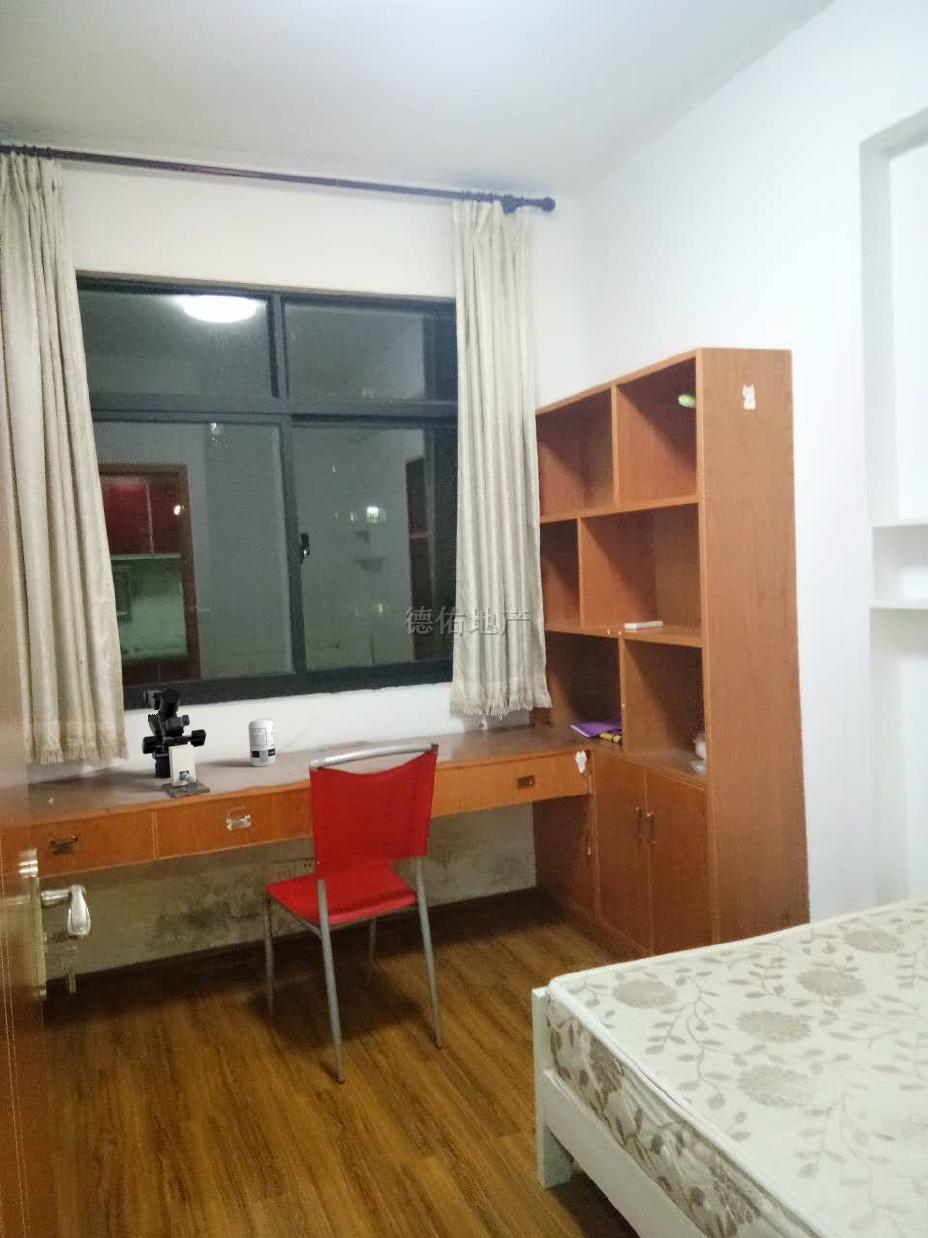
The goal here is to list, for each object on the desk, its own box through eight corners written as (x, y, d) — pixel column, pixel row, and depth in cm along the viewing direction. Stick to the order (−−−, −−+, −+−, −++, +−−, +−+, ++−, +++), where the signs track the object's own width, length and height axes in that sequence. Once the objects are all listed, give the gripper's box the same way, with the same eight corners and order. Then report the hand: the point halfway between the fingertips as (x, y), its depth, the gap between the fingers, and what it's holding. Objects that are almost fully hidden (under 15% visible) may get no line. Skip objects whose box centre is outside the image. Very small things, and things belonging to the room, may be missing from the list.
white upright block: (171, 784, 266) (168, 747, 265) (192, 780, 269) (190, 744, 269) (174, 786, 263) (171, 749, 262) (195, 783, 266) (193, 745, 265)
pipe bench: (162, 787, 269) (161, 770, 268) (195, 781, 274) (194, 765, 273) (175, 798, 254) (173, 780, 254) (209, 792, 259) (208, 774, 259)
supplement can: (246, 765, 295) (243, 721, 294) (269, 760, 301) (266, 717, 300) (257, 768, 289) (254, 723, 288) (280, 763, 294) (277, 719, 294)
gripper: (140, 711, 267) (150, 751, 258) (202, 703, 277) (214, 742, 268) (137, 733, 274) (147, 774, 265) (198, 725, 284) (209, 764, 275)
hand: (180, 763), depth 268 cm, fingers closed
